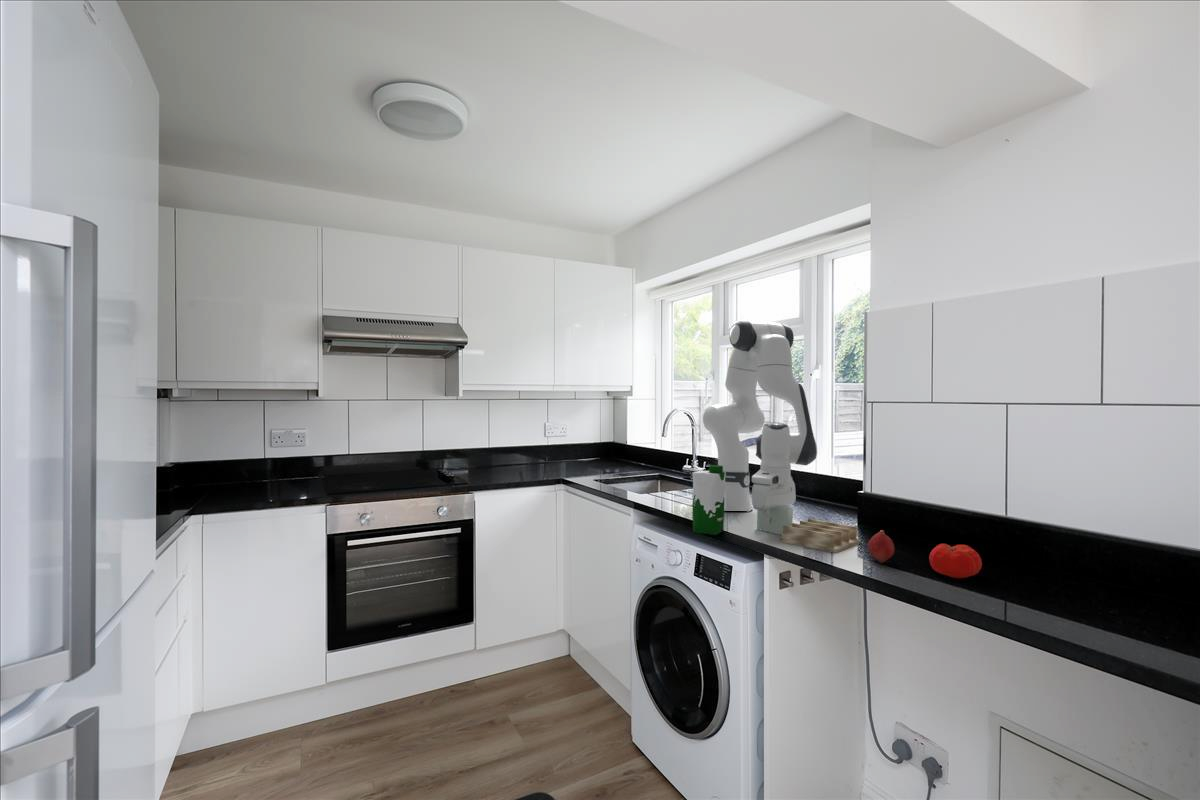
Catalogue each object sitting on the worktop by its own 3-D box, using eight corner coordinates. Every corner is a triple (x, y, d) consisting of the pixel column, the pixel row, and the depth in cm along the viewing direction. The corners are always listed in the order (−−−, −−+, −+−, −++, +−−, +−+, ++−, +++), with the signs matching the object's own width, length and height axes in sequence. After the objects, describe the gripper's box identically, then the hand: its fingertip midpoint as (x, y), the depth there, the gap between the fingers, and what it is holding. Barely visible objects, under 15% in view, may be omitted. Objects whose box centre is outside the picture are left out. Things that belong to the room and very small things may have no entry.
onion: (862, 560, 135) (862, 528, 135) (879, 558, 137) (880, 526, 137) (882, 566, 130) (882, 533, 130) (899, 564, 132) (900, 531, 132)
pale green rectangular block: (757, 529, 168) (757, 503, 168) (762, 528, 170) (762, 502, 170) (787, 535, 160) (787, 508, 160) (792, 534, 162) (792, 507, 163)
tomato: (925, 575, 124) (925, 546, 124) (935, 565, 132) (935, 538, 132) (977, 585, 117) (977, 555, 117) (984, 574, 125) (984, 546, 126)
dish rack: (779, 541, 153) (779, 525, 153) (805, 532, 164) (805, 518, 164) (836, 552, 141) (836, 535, 142) (860, 543, 152) (860, 527, 152)
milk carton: (717, 536, 157) (718, 467, 158) (688, 532, 162) (689, 465, 162) (727, 530, 165) (728, 465, 165) (699, 527, 170) (700, 463, 170)
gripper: (782, 472, 175) (781, 515, 175) (748, 477, 161) (747, 524, 160) (801, 474, 170) (800, 518, 170) (767, 479, 156) (767, 527, 156)
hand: (774, 521), depth 165 cm, fingers open, 7 cm apart
